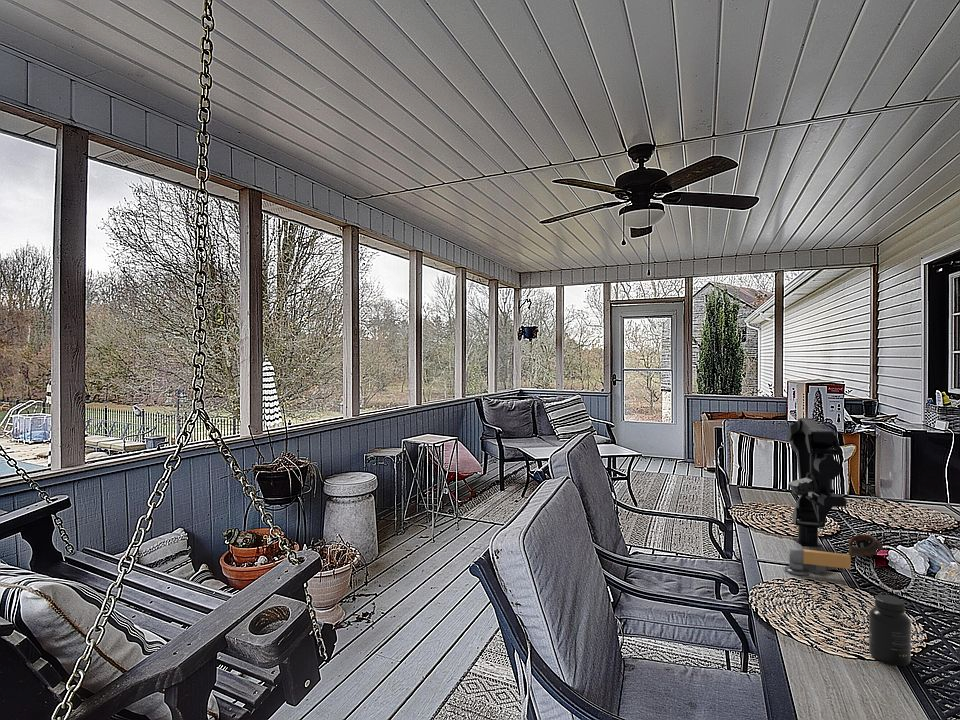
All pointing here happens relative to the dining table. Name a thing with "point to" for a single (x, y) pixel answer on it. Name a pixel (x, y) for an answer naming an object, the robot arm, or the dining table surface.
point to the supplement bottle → (890, 631)
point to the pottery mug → (864, 545)
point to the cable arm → (819, 558)
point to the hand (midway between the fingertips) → (820, 521)
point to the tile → (815, 568)
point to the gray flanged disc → (796, 569)
